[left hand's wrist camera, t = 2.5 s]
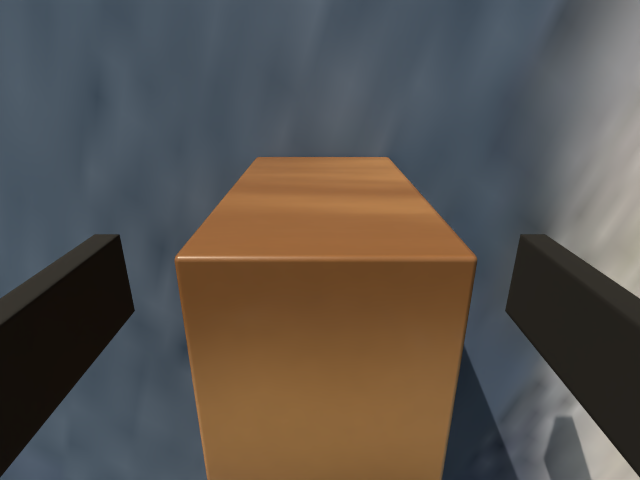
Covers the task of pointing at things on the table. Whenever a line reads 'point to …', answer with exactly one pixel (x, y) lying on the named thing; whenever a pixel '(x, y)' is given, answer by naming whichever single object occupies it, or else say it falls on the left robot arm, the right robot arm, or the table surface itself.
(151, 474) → the table surface
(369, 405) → the bar
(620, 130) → the table surface
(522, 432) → the table surface
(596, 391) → the left robot arm
